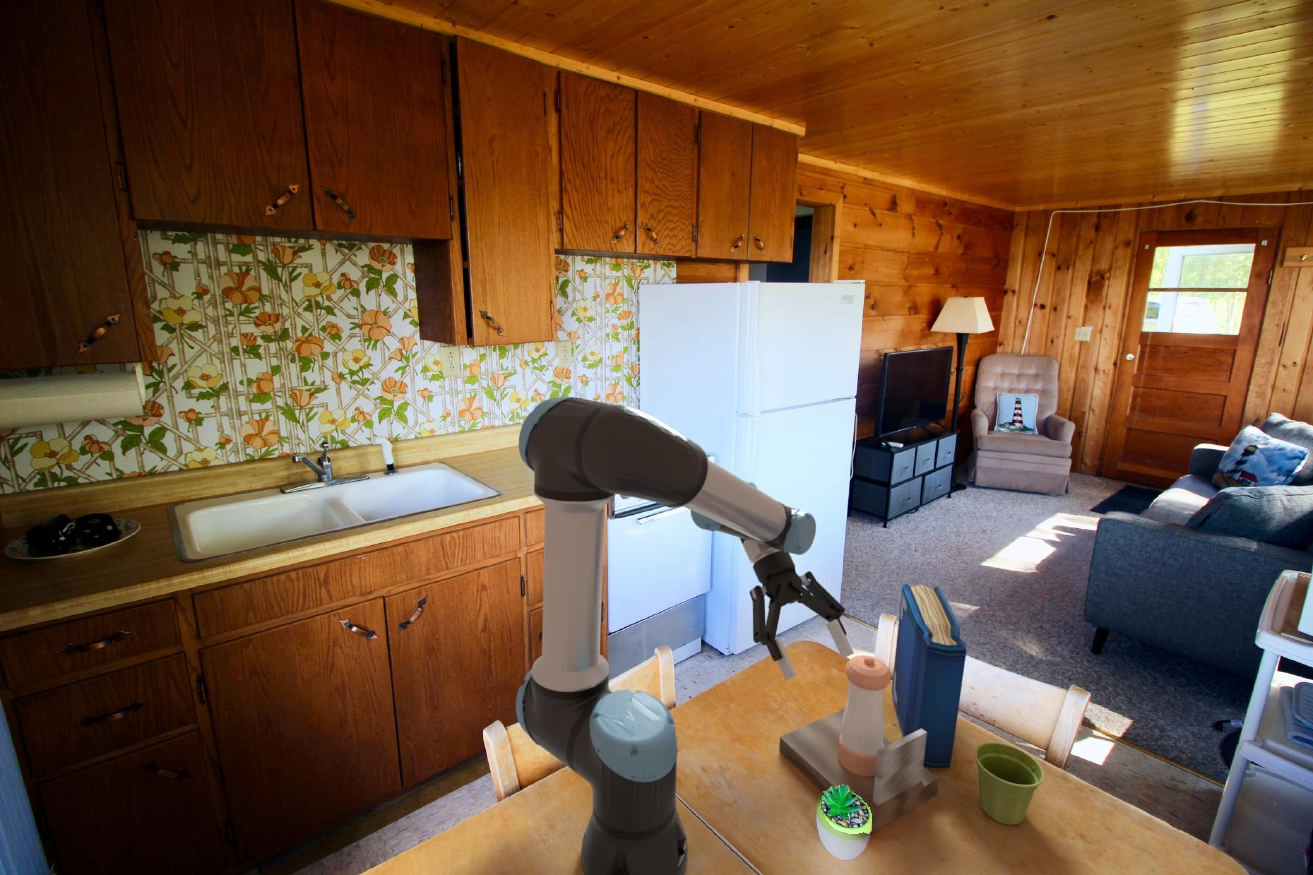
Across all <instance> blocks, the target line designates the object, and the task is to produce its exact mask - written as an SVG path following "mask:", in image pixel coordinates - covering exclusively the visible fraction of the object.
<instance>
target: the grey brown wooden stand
mask: <svg viewBox="0 0 1313 875" xmlns="http://www.w3.org/2000/svg"><path fill="white" fill-rule="evenodd" d="M845 708H846V707H844V708H842V709H840V710H838V711H836V712H833V713H831V714H829V715H826V716H824V717H823V718H822V717H821V718H820V719H818V720H816V721H813V722H811V723H807V724H806V725H803V726H802V727H799V728H797V729H795V730H792V731H790V732H788V733H785V734H784V735H781V736H779V747H778V748H779V750H778V751H779V753H780V754H781V755H782V756H783V757H784V758H785V759H786V760H787V761H788V762H790V764H792V766H793V767H795V768H796V769H797V770H798V771H799V772H800V773H801V774H802V775H804V776H805V778H806V779H808V780H809V782H810V783H811V784H813V785H814V786H815V787H816V788H817V789H818V790H819V791H820V792H821V793H822V792H823V791H826V790H828V789H829V788H830V787H831V786H838V785H842V784H844V785H848V786H849V788H850V790H851V791H853V793H855V794H856V795H858V796H860V797H861V798H862V800H863V801H864V802H865V803H867V805H868V807H870V810H871V813H872V831H871V834H872V833H874V832H876V831H878V830H880V829H881V828H883V827H884V826H886V825H887V824H889V823H891V822H893V821H894V820H896V819H898V818H899V817H901V816H903V815H905V814H907V813H908V812H910V811H912V810H913V809H915V808H917V807H918V806H920V805H921V804H923V803H925V802H927V801H929V800H930V799H931V798H933V797H935V796H936V795H938V792H939V791H938V790H939V784H940V783H939V782H940V777H939V776H937V775H936V774H934V773H933V772H931V771H930V770H929V769H928V768H927V767H925V766H923V763H924V755H925V746H926V737H927V732H926V731H925V730H923V729H922V728H921V729H919V730H917V731H915V732H913V733H911V734H909V735H907V736H906V737H901V738H900V739H898V740H896V741H894V742H892V741H891V740H889V739H887V738H886V737H885V736H884V737H883V744H884V746H885V747H884V748H882V749H880V750H878V751H877V762H876V773H875V775H874V776H860V775H857V774H854V773H852V772H850V771H848V770H847V769H846V768H844V767H843V766H842V765H841V763H840V762H839V760H838V743H839V736H840V734H841V733H842V719H843V715H844V711H845Z"/></svg>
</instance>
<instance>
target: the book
mask: <svg viewBox="0 0 1313 875" xmlns="http://www.w3.org/2000/svg"><path fill="white" fill-rule="evenodd" d="M960 629H961V627H960V625H959V622H958V620H957V617H956V615H955V614H954V611H953V609H952V607H951V605H950V603H949V601H948V599H947V598H946V595H945V594H944V592H943V590H942V589H941V588H939V587H938V586H937V585H936V586H935V587H934V588H931V587H929V586H925V585H923V584H918V585H914V586H910V585H909V584H908V583H905V584H904V585H902V586H901V595H900V606H899V615H898V626H897V635H896V644H895V645H896V646H895V655H894V665H893V672H892V674H893V675H892V684H891V685H892V686H891V694H892V698H893V699H892V700H893V703H894V707H895V711H896V716H897V720H898V723H899V727H900V730H901V734H902V738H904V737H906V736H907V735H909V734H911V733H913V732H915V731H917V730H919V729H921V728H922V729H923V730H925V731H926V732H927V737H926V746H925V755H924V763H923V766H924V767H925V768H927V769H928V768H929V769H932V770H934V769H951V765H952V759H953V751H954V745H955V737H956V732H957V731H956V730H957V722H958V714H959V709H960V702H961V692H962V685H963V678H964V671H965V664H966V657H967V647H966V642H964V640H963V639H961V637H960V636H961V634H960V633H961V630H960Z"/></svg>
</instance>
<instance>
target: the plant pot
mask: <svg viewBox="0 0 1313 875" xmlns="http://www.w3.org/2000/svg"><path fill="white" fill-rule="evenodd" d="M973 756H974V760H975V761H976V765H977V768H978V786H979V788H978V789H979V792H978V793H979V806H980V808H981V809H982V810H984V812H985V814H987V815H988V817H989V818H991V819H992V820H994V821H996V822H997V823H1000V824H1003V825H1007V826H1014V825H1017V824H1022V823H1023V821H1024V820H1025V817H1026V814H1027V811H1028V809H1029V806H1030V803H1031V800H1032V798H1033V795H1034V793H1035V791H1036V790H1037V788H1038V787H1039V786H1041V784H1042V783H1043V782H1044V779H1045V771H1044V769H1043V766H1042V765H1041V764H1040V763H1039V761H1038V760H1037V759H1036V758H1034V757H1033V756H1032V755H1031V754H1029V753H1028V752H1026V751H1024V750H1023V749H1020V748H1018V747H1017V746H1014V745H1011V744H1008V743H1005V742H999V741H986V742H981V743H979V744H978V745H977V746H976V747H975V748H974V751H973Z"/></svg>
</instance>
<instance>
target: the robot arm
mask: <svg viewBox="0 0 1313 875" xmlns="http://www.w3.org/2000/svg"><path fill="white" fill-rule="evenodd" d="M518 436H519V437H518V451H519V455H520V458H521V460H522V461H523V462H524V463H525V465H526V466H527V468H529V469H530V470H531V471H533V472H534V475H533V476H534V480H533V481H534V484H533V486H534V487H533V488H534V489H533V493H534V495H535V497H536V498H537V499H538V500H539V501H540V502H541V503H542V504H544V525H543V527H544V531H543V532H544V534H543V535H544V536H543V582H542V583H543V586H542V588H543V589H542V591H543V592H542V634H541V635H542V640H541V641H542V643H541V648H542V650H541V656H539V657H538V658H536V660H535V661H534V662H533V664H532V666H531V669H530V670H529V671H528V673H526V675H525V677H524V678H523V680H524V683H523V684H522V685H520V686H519V688H518V691H517V696H516V700H515V712H516V717H517V722H518V724H519V727H521V729H522V731H524V732H525V734H526V735H528V736H529V738H530V739H531V740H532V742H534V743H535V744H536V745H537V746H540V747H541V748H542V749H544V750H545V751H546V752H548V753H549V754H550V755H551V756H553V757H554V758H556V759H557V761H560V762H561V763H562V764H564V765H565V766H566V767H567V768H569V769H571V771H572V772H575V774H577V775H579V776H580V777H581V778H582V779H583V780H584V781H586V782H587V783H589V785H590V786H591V789H592V812H591V815H590V817H589V820H588V823H587V827H586V829H585V832H584V835H583V837H582V843H581V867H582V872H583V875H685V872H686V870H687V866H688V840H687V835H686V830H685V828H684V826H683V823H682V820H681V818H680V815H679V812H678V809H677V806H676V805H677V804H676V801H677V799H676V798H677V797H676V796H677V794H676V792H677V763H678V762H677V761H678V760H677V759H678V758H677V757H678V750H679V748H678V738H677V734H676V732H677V731H676V724H675V723H676V722H675V720H674V717H673V716H672V713H671V711H670V710H669V708H668V707H667V706H666V705H665V704H664V703H663V702H662V701H661V700H660V699H658V697H656V696H655V695H652V694H650V693H647V692H645V691H642V690H636V691H635V692H633V691H631V690H630V689H620V690H615V691H611V690H610V666H609V665H610V664H609V663H608V661H607V659H606V658H605V657H604V656H603V655H602V654H601V627H602V626H601V624H602V601H603V600H602V596H603V594H602V593H603V574H604V573H603V572H604V571H603V569H604V566H603V565H604V544H605V541H604V539H605V538H604V537H605V511H606V505H607V504H608V503H609V502H610V501H612V499H613V498H614V497H616V495H620V496H625V497H631V498H636V499H641V500H645V501H649V502H653V503H656V504H660V505H661V506H663V507H666V508H672V509H676V508H682V507H684V508H686V509H688V510H690V517H691V519H692V521H693V523H694V524H695V526H697V527H698V528H699V529H702V530H705V531H710V532H715V531H716V532H720V533H724V534H727V535H730V536H734V537H736V538H739V539H740V542H741V544H742V547H743V549H744V551H745V553H746V556H747V558H748V560H749V563H751V564H753V565H752V569H753V571H754V573H755V576H756V578H757V580H758V583H760V584H761V585H762V586H761V585H757V584H756V585H755V586H754V587H753V588H752V589H751V590H749V596H750V598H751V602H752V640H753V642H754V643H755V644H759V643H760V644H761V645H763V646H766V647H767V650H768V652H769V655H770V657H771V659H772V660H773V662H776V663H777V664H778V667H779V670H780V671H781V673H782V674H781V675H782V676H783V678H784V680H785V681H788V680H789V679H792V678H794V677H796V676H797V672H796V669H795V668H794V666H793V663H792V661H791V659H790V657H789V654H788V653H787V650H786V648H785V646H784V642H783V641H782V640H781V637H779V638H777V637H776V636H777V631H778V625H779V620H780V616H781V609H782V607H785V606H787V605H791V604H795V603H796V602H797V603H798V604H802V605H804V606H805V607H806V608H808V609H809V610H811V611H813V612H814V613H816V614H817V615H818V616H820V617H821V618H822V619H824V620H825V621H827V623H826V624H825V626H826V628H827V630H828V632H829V634H830V635H831V636H830V637H831V638H832V640H833V642H834V645H835V646H836V648H837V650H838V652H839V655H840V656H841V659H842V660H843V659H845V658H847V657H849V656H851V655H853V654H854V650H853V648H852V646H851V644H850V642H849V640H848V638H847V631H846V629H845V626H844V625H843V623H842V621H841V617H843V614H844V613H845V611H846V609H845V607H844V606H843V605H841V603H840V602H839V601H838V600H837V599H835V597H834V596H832V594H831V593H830V592H828V590H827V589H825V587H823V586H822V585H821V583H819V581H818V580H817V579H816V578H815V576H814V574H813V572H812V571H806V572H805V573H804V574H802V575H799V574H798V573H797V571H796V564H795V562H794V561H793V559H792V556H791V554H793V555H797V556H801V555H804V554H806V553H807V552H808V551H809V550H810V549H811V547H812V546H813V543H814V540H815V537H816V533H817V522H816V519H815V517H814V515H813V514H812V513H810V512H808V511H804V510H802V509H800V508H794V507H791V506H787V505H786V504H783V503H782V502H781V501H778V500H777V499H774V498H773V497H771V496H770V495H768V494H767V493H765V492H763V491H761V490H759V489H758V487H757V485H756V484H755V482H752V481H748V480H743V479H742V478H740V477H738V476H737V475H735V474H733V473H732V472H730V471H728V470H727V469H725V468H724V467H721V465H719V464H717V463H715V462H713V460H710V459H709V458H708V456H707V452H706V451H705V450H704V448H703V447H702V446H701V445H700V444H698V443H697V442H695V441H693V440H692V439H691V438H689V437H687V436H686V435H683V433H681V432H679V431H678V430H676V429H675V428H672V427H671V426H669V425H668V424H666V423H664V422H663V421H661V420H659V419H658V418H656V417H654V416H652V415H651V414H649V413H646V412H644V411H642V410H639V409H636V408H634V407H631V406H627V405H621V404H619V405H618V404H612V403H607V402H603V401H596V400H591V399H585V398H582V397H574V396H570V397H568V396H567V397H566V396H555V397H551V398H547V399H546V400H544V401H542V402H540V403H538V404H537V405H536V406H535V407H534V409H533V410H532V411H531V412H530V413H529V414H528V415H527V416H526V418H525V419H524V420H523V423H522V425H521V428H520V432H519V435H518ZM765 597H767V598H769V602H768V605H767V606H768V607H767V608H768V613H767V618H766V602H765V601H766V600H765ZM776 638H777V639H776Z"/></svg>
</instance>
